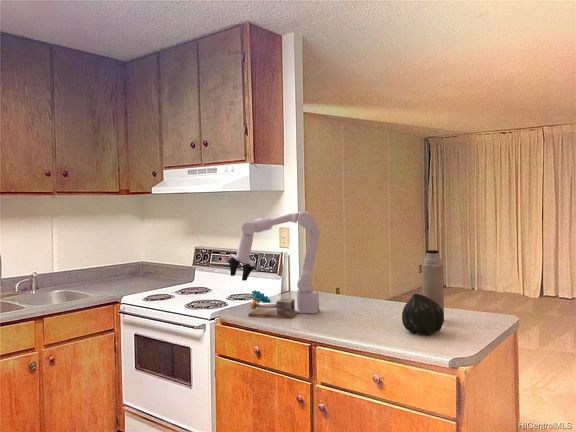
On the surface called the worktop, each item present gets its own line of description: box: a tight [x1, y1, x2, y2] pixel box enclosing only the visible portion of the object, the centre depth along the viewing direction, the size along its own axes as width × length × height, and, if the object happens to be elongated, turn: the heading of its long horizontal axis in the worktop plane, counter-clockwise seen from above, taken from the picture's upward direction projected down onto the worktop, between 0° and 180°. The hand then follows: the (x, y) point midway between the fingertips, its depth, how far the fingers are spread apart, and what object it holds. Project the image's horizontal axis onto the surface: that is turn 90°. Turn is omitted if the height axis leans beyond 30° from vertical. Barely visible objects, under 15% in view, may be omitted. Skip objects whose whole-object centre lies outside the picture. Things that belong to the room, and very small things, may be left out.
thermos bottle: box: [421, 249, 445, 315], centre depth 188 cm, size 8×8×28 cm
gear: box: [251, 290, 271, 303], centre depth 223 cm, size 11×6×10 cm
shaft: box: [250, 300, 277, 310], centre depth 204 cm, size 13×4×4 cm, turn 74°
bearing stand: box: [247, 297, 299, 319], centre depth 204 cm, size 20×9×6 cm, turn 74°
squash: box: [401, 293, 445, 336], centre depth 172 cm, size 14×15×15 cm
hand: (238, 278), depth 210 cm, fingers open, 7 cm apart
